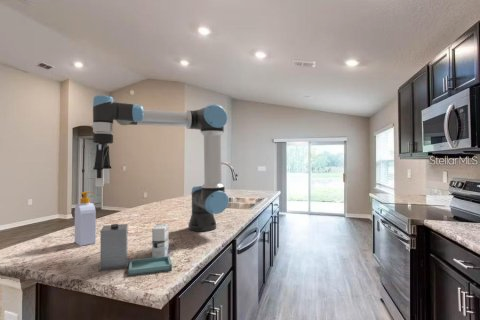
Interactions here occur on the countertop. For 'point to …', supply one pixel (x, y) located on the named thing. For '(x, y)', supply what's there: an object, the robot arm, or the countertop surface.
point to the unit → (114, 247)
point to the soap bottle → (85, 221)
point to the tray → (150, 265)
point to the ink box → (160, 240)
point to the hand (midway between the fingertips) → (102, 185)
